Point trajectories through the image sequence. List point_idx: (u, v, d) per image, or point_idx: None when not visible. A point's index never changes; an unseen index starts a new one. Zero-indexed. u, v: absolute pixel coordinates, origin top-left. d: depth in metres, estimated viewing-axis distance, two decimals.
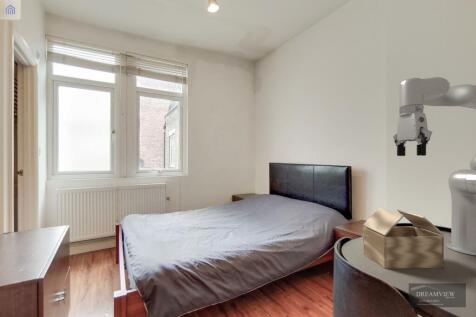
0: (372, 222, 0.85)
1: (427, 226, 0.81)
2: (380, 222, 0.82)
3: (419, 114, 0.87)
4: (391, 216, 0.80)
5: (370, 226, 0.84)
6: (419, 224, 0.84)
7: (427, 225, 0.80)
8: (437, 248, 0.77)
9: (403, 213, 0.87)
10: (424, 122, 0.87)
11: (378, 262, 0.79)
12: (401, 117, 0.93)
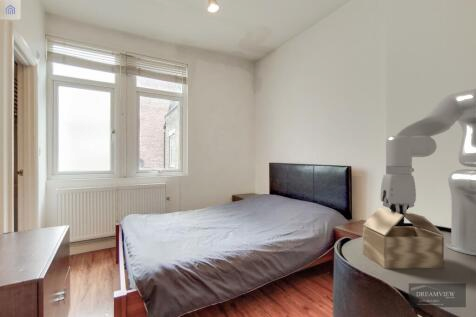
0: (372, 222, 0.85)
1: (427, 226, 0.81)
2: (380, 222, 0.82)
3: None
4: (391, 216, 0.80)
5: (370, 226, 0.84)
6: (419, 224, 0.84)
7: (427, 225, 0.80)
8: (437, 248, 0.77)
9: None
10: None
11: (378, 262, 0.79)
12: (398, 177, 0.80)
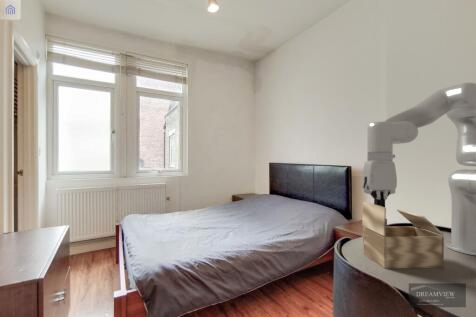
0: (367, 221, 0.85)
1: (427, 226, 0.81)
2: (372, 220, 0.82)
3: None
4: (377, 211, 0.80)
5: (368, 226, 0.84)
6: (419, 224, 0.84)
7: (427, 225, 0.80)
8: (437, 248, 0.77)
9: (403, 213, 0.87)
10: None
11: (378, 262, 0.79)
12: (379, 163, 0.80)
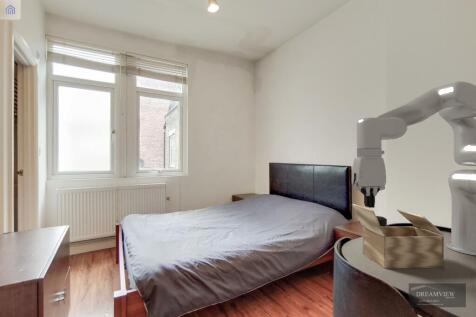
0: (364, 222, 0.85)
1: (427, 226, 0.81)
2: (368, 222, 0.82)
3: None
4: (368, 214, 0.80)
5: (367, 227, 0.84)
6: (419, 224, 0.84)
7: (427, 225, 0.80)
8: (437, 248, 0.77)
9: (403, 213, 0.87)
10: None
11: (378, 262, 0.79)
12: (368, 159, 0.80)
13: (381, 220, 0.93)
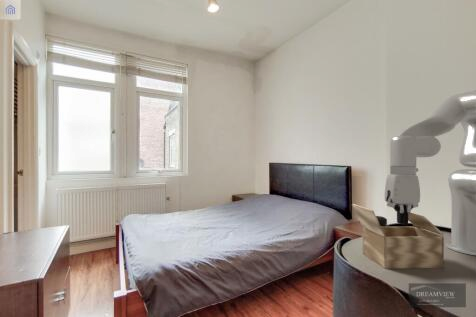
0: (364, 222, 0.85)
1: (427, 226, 0.81)
2: (368, 222, 0.82)
3: None
4: (368, 214, 0.80)
5: (367, 227, 0.84)
6: (419, 224, 0.84)
7: (427, 225, 0.80)
8: (437, 248, 0.77)
9: None
10: None
11: (378, 262, 0.79)
12: (402, 177, 0.80)
13: (381, 220, 0.93)
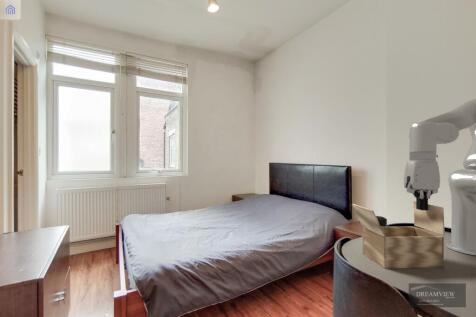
0: (364, 222, 0.85)
1: (434, 222, 0.81)
2: (368, 222, 0.82)
3: None
4: (368, 214, 0.80)
5: (367, 227, 0.84)
6: (424, 221, 0.85)
7: (435, 221, 0.80)
8: (437, 248, 0.77)
9: None
10: None
11: (378, 262, 0.79)
12: (423, 163, 0.81)
13: (381, 220, 0.93)
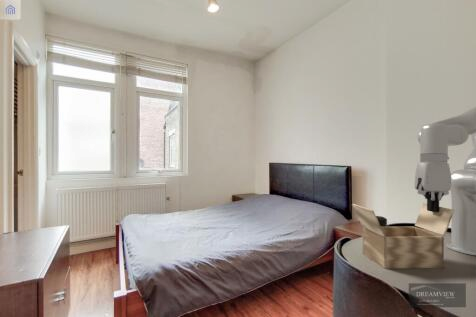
0: (364, 222, 0.85)
1: (438, 223, 0.81)
2: (368, 222, 0.82)
3: None
4: (368, 214, 0.80)
5: (367, 227, 0.84)
6: (428, 222, 0.85)
7: (440, 221, 0.80)
8: (437, 248, 0.77)
9: None
10: None
11: (378, 262, 0.79)
12: (434, 165, 0.81)
13: (381, 220, 0.93)
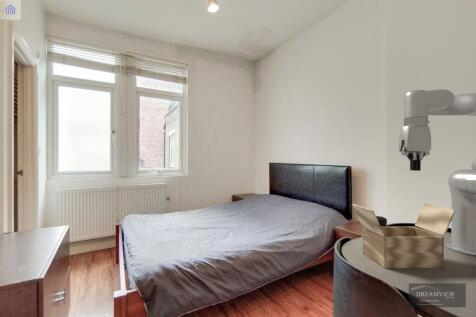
0: (364, 222, 0.85)
1: (438, 223, 0.81)
2: (368, 222, 0.82)
3: None
4: (368, 214, 0.80)
5: (367, 227, 0.84)
6: (428, 222, 0.85)
7: (441, 222, 0.80)
8: (437, 248, 0.77)
9: (427, 207, 0.87)
10: None
11: (378, 262, 0.79)
12: (416, 127, 0.89)
13: (381, 220, 0.93)
